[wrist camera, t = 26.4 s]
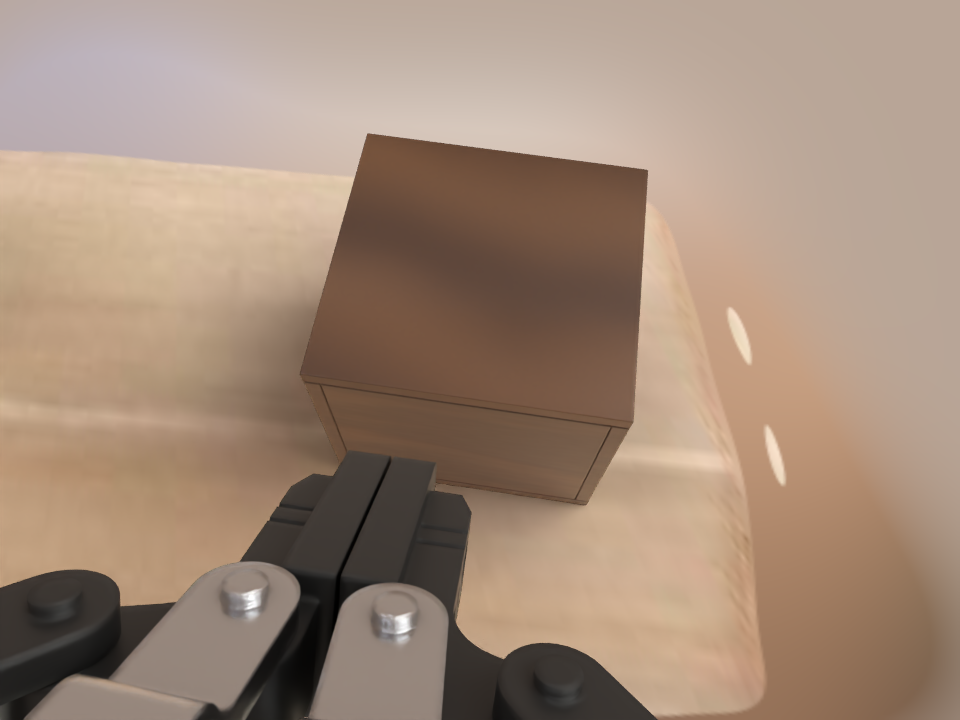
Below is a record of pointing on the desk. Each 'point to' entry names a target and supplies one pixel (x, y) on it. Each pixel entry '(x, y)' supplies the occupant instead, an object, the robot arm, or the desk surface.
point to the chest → (472, 441)
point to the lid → (486, 281)
